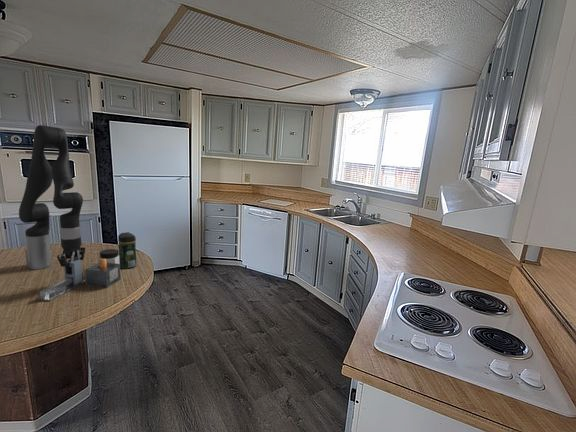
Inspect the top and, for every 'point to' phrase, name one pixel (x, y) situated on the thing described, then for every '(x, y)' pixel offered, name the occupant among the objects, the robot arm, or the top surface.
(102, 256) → the jar
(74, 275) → the block
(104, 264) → the orange peg
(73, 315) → the top surface
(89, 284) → the block with square hole
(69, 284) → the rail
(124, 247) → the coffee jar
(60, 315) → the top surface
